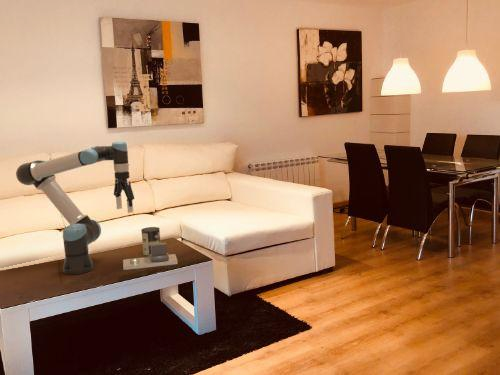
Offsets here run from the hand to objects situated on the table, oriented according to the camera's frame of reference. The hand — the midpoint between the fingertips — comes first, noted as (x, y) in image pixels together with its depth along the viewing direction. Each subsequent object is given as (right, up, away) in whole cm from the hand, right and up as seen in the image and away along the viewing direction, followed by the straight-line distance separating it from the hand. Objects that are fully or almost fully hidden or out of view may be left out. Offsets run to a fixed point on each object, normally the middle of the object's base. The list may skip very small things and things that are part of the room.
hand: (124, 210), depth 272 cm
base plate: (+13, -28, +1) cm, 31 cm away
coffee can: (+11, -25, +20) cm, 34 cm away
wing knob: (+18, -26, +1) cm, 32 cm away
